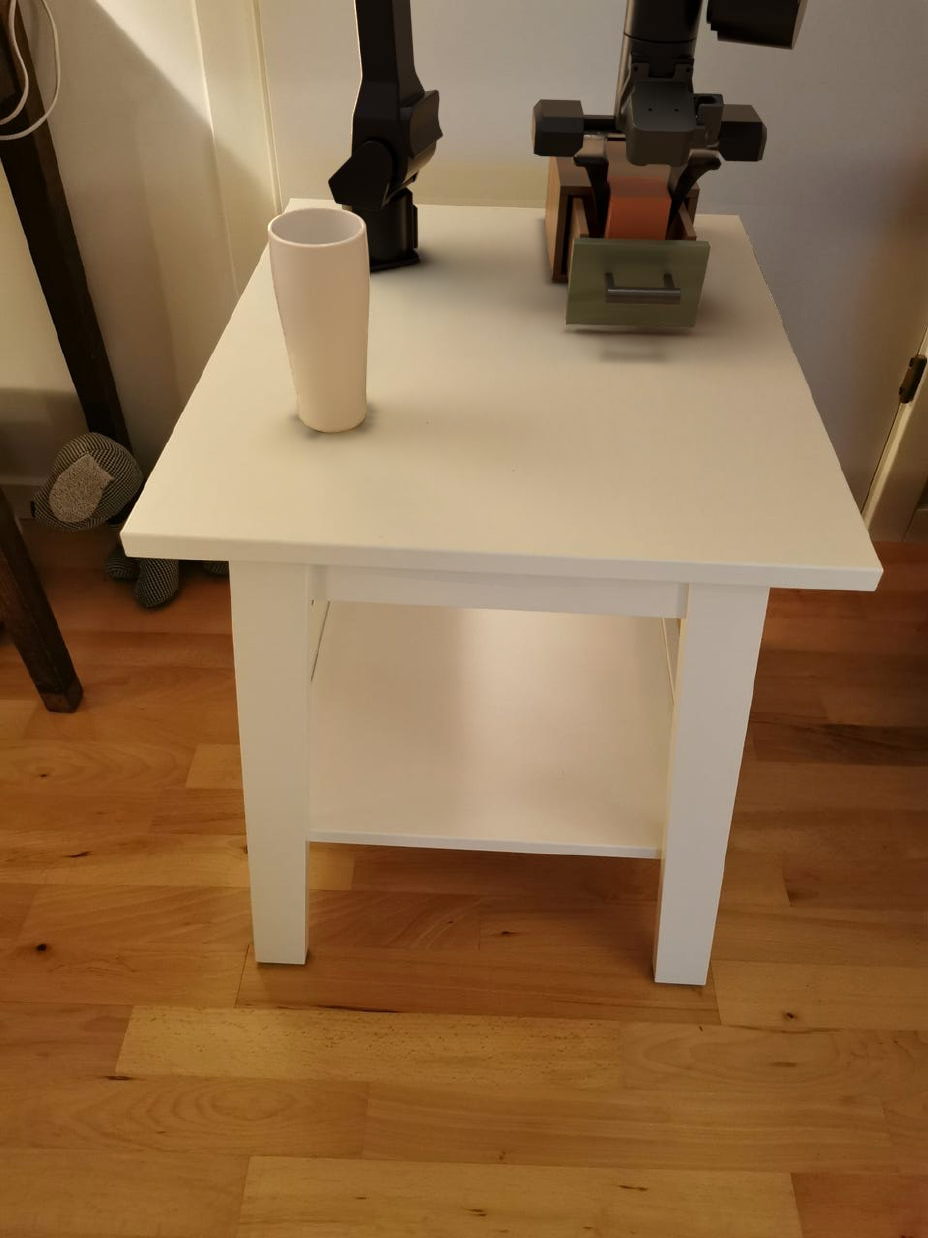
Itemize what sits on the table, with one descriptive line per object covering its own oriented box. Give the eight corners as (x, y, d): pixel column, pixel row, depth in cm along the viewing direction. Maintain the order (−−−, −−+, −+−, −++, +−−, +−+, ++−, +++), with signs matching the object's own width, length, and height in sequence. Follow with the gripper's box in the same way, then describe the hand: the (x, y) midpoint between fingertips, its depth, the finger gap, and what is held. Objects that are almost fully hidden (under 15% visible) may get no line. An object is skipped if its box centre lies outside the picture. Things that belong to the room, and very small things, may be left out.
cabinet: (682, 285, 94) (700, 188, 87) (551, 282, 94) (560, 185, 87) (661, 224, 104) (676, 133, 98) (544, 221, 104) (551, 130, 98)
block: (662, 257, 85) (671, 199, 81) (605, 256, 85) (612, 197, 81) (654, 233, 89) (663, 177, 85) (600, 232, 88) (606, 175, 85)
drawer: (702, 352, 83) (720, 269, 78) (569, 349, 83) (577, 265, 77) (672, 261, 95) (686, 185, 90) (556, 258, 95) (563, 182, 90)
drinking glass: (363, 446, 73) (351, 251, 63) (277, 434, 74) (251, 240, 64) (386, 399, 78) (378, 210, 67) (305, 389, 79) (285, 201, 68)
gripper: (545, 59, 69) (530, 270, 80) (805, 66, 69) (755, 276, 80) (538, 19, 77) (525, 216, 88) (771, 25, 77) (730, 221, 88)
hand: (631, 233), depth 86 cm, fingers closed on block, 5 cm apart
